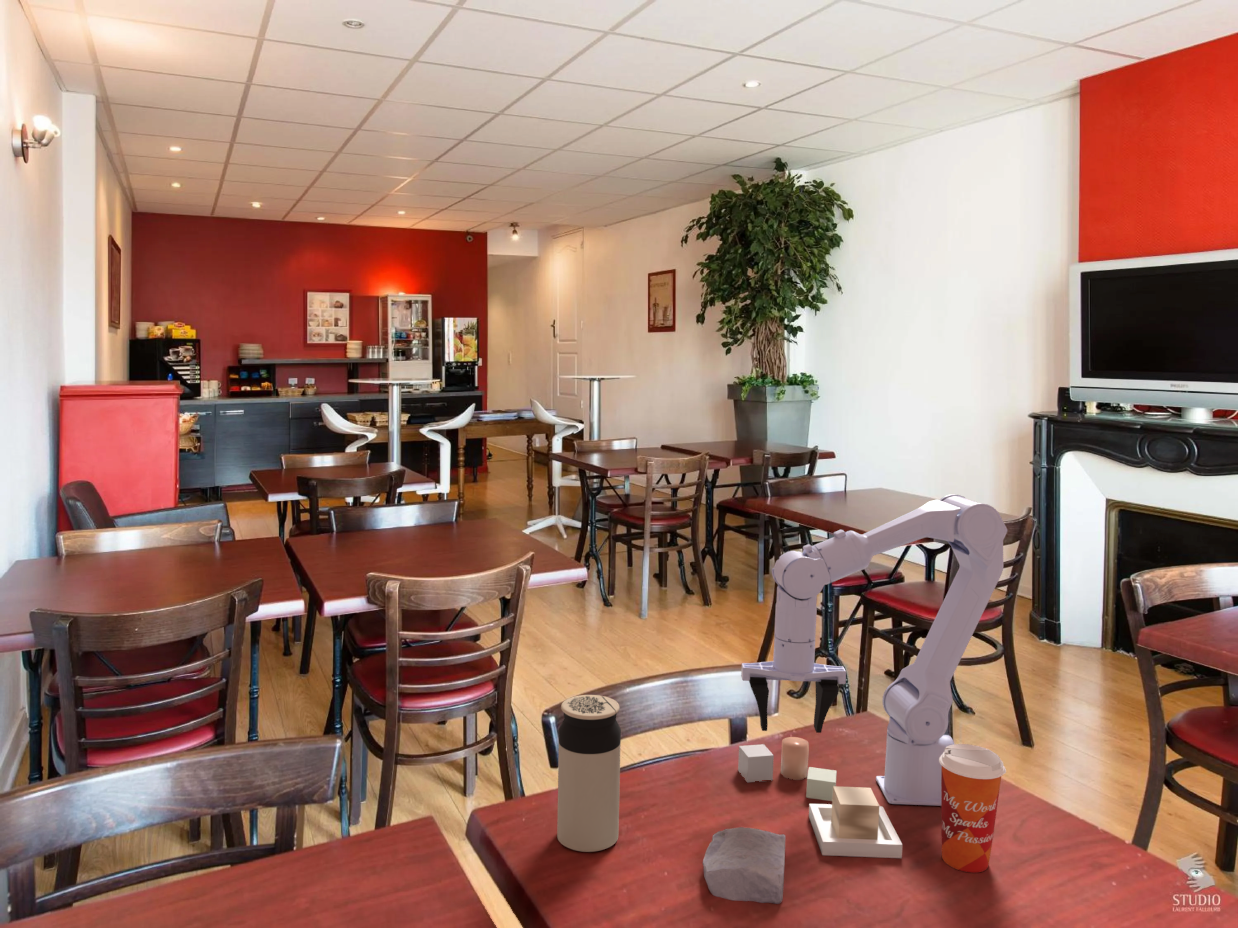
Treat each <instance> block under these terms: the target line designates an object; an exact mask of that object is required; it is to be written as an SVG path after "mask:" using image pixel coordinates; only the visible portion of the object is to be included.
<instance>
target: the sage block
mask: <svg viewBox="0 0 1238 928" xmlns="http://www.w3.org/2000/svg"><path fill="white" fill-rule="evenodd" d="M837 773H838V772H837V770H834V769H827V768H820V767H812V766H809V767H808V772H807V777H806V794H805V797H806V798H808V799H815V800H822V801H828V802H829V801H830V802H832V797H833V786H837Z"/></svg>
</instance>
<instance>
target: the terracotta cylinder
mask: <svg viewBox="0 0 1238 928" xmlns="http://www.w3.org/2000/svg"><path fill="white" fill-rule="evenodd" d="M809 746H810V743H809V741H808V740H807V739H804V738H802V737H797V736H788V737H784V738H783V739H782V740H781V756H780V757H781V759H780V775H781V774H782V775H783V776H782V775H781V776H782V777H784V778H786V779H788V778H789V780H792V779H793V780H792V781H801V780H804V778H805V779H807V776H808V769H809V767H808V766H809V752H810V751H809V749H810V748H809Z"/></svg>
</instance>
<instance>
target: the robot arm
mask: <svg viewBox="0 0 1238 928" xmlns="http://www.w3.org/2000/svg"><path fill="white" fill-rule="evenodd" d="M1007 533H1008V528H1007V525H1006V524H1005V522H1004V521H1003V519H1002V516H1001V514H1000V513H999V511H998V510H997V509H996V508H995V507H994V506H993V505H990V504H987V503H984V502H978V501H975V500H972V499H969V498H966V497H965V496H963V495H961V494H956V493H955V494H954V493H951V494H947V495H945V496H943V497H941V498H940V499H934V500H929V501H927V502H925V504H923V505H921V506H920V507H916V509H913V510H912V511H909V512H907V513H905V514H903V515H901V516H898V517H897V518H895V519H893V520H890V521H888V522H886V523H883V524H881V525H879V526H877V527H875V528H873V529H871V530H869V531H867V532H864V533H863V534H861V533H859V532H856V531H854V530H847V531H844V529H839V530H837V531H834V532H833V537H830V538H828V539H826V540H824V541H821V542H818V543H816V544H814V545H811V544H808V543H807V544H806V545H803V546H802V551H800V550H798V551H796V550H788V551H786V552H784V553H783V554H781V555H780V556H779V557H778V559H777V560H776V561H775V563H774V566H773V568H771V575H772V578H773V580H774V583H776V584H777V587H776V603H775V615H774V636H773V637H774V640H773V642H774V643H773V657H772V658H773V660H771V661H761V662H760V661H759V662H750V663H749V662H746V663H745V662H743V663H741V670H740V671H741V672H740V674H741V675H740V676H741V680H742V681H745V682H747V681H748V682H749V686H750V688H751V691H752V693H753V695H754V699H755V701H756V705H757V708H758V709H757V710H758V712H759V714H758V715H759V722H760V728H761V731H762V732H767V731H768V705H769V704H768V703H769V695H770V694H769V693H770V689H769V685H768V684H769V682H768V681H791V682H815V707H814V714H813V715H814V716H813V717H814V718H813V729H814V731H815V732H816V734H817V733H818V734H821V733H822V732H823V731H822V730H823V727H824V724H825V720H826V717H827V715H828V712H829V710H830V708H831V706H832V704H833V703H834V701H835V699H836V698H837V697H838V695H839V692H840V686H839V685H845V684H846V680H847V678H846V677H847V671H846V669H845V667H844V666H843V665H842V666H839V665H838V666H837V665H830V664H829V665H827V664H824V663H823V664H822V663H821V664H820V663H816V662H815V657H816V656H815V654H816V653H815V651H816V636H817V635H816V633H817V631H816V630H817V614H818V613H817V610H818V607H817V601H818V595H819V594H820V593H821V592H822V590H823V588H824V586H825V585H829V584H831V583H835V582H836V581H838V580H840V579H844V578H846V577H849V576H850V575H853V574H856V573H858V572H861V571H863V570H865V569H867V568H868V567H869V565H870V563H871V561H872V559H873V557H874V556H876V555H881V554H882V553H885V552H888V551H891V550H894V549H897V548H900V547H903V546H905V545H908V544H910V543H913V542H916V541H919V540H921V539H925V538H930V539H936V540H939V541H940V540H941V541H946V543H948V545H950V546H951V550H952V552H953V553H954V556H955V557H956V561H957V562H958V564H959V565H958V566H959V568H958V570H957V572H956V574H955V576H954V577H953V580H952V582H951V584H950V587H949V589H948V591H947V593H946V595H945V598H944V599H943V601H942V602H941V603H942V604H941V605H940V607H939V609H938V611H937V614H936V616H935V618H934V620H933V621H932V624H931V626H930V628H929V631H928V633H927V635H926V637H925V639H924V641H923V644H922V646H921V647H920V649H919V651H918V654H917V656H916V658H915V660H914V662H913V663H911V664H909V665H907V666H906V667H904V668H902V669H901V671H900V672H899V674H898V676H897V678H896V679H895V680H894V681H892V683H890V684H889V685H888V686H887V687H886V689H885V690H884V692H883V695H882V699H881V701H882V707H883V709H884V711H885V713H886V714H887V715H888V717H889V718H888V724H887V726H886V727H887V728H886V729H887V730H886V745H885V747H886V748H885V761H884V762H885V763H884V775H876V776H875V780H876V782H877V784H878V785H879V787H880V790H881V791H882V794H883V795H884V797H885V799H886V801H887V803H889V804H892V805H909V806H910V805H911V806H913V805H915V806H917V805H918V806H940V807H941V769H942V765H941V764H940V762H939V758H940V756H941V755H942V754H943V752H944V749H945V748H946V747H947V746H949V745H954V744H955V742H954V740H953V738H952V737H951V735H949V734H945V733H946V732H947V729H948V726H949V713H950V712H949V711H950V708H951V706H952V704H953V702H954V700H953V694H952V689H951V681H952V678H953V676H954V675H955V674H954V673H955V672H956V670H957V668H958V665H959V663H960V662H961V659H962V657H963V655H964V653H965V651H966V649H967V647H968V644H969V642H970V640H971V639H972V636H973V634H974V632H975V630H976V628H977V626H978V623H980V620H981V618H982V615H983V614H984V611H985V609H986V608H987V606H988V603H989V601H990V599H991V597H992V595H993V593H994V591H995V589H996V586H997V584H998V582H999V580H1000V578H1001V576H1002V574H1003V571H1004V540H1005V537H1006V535H1007Z"/></svg>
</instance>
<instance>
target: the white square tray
mask: <svg viewBox="0 0 1238 928" xmlns="http://www.w3.org/2000/svg"><path fill="white" fill-rule="evenodd" d="M808 806H809V807H808V817H809V821H810V824H811V826H812V829H813V833H814V834H815V838H816V841H817V844H818V847H819V850H820V852H821V855H822V856H832V857H833V856H836V857H837V856H840V857H858V858H860V857H861V858H863V857H865V858H886V859H887V858H890V859H903V858H902V857H903V843H902V841H901V839H900V837H899V835H898V834H897V831H896V830H895V828H894V826H893V824H892V822H891V820H890V818H889V815H887V812H886V810H885V808H884V807H883V805H882V806H881V805H879V822H878V839H877V840H870V839H844V838H837V836H836V833H835V830H834V828H833V825H832V822H831V817H832V803H831V804H830V803H828V804H827V803H809V804H808Z"/></svg>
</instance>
